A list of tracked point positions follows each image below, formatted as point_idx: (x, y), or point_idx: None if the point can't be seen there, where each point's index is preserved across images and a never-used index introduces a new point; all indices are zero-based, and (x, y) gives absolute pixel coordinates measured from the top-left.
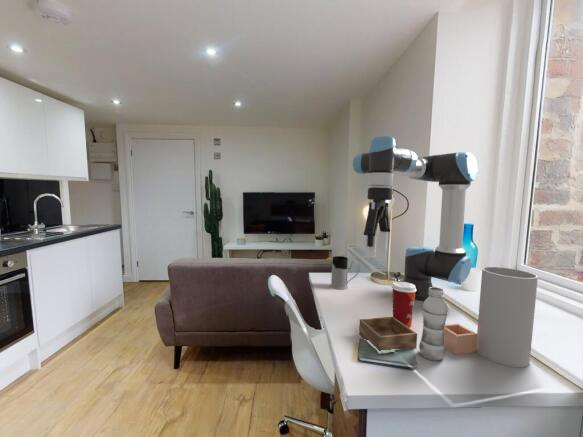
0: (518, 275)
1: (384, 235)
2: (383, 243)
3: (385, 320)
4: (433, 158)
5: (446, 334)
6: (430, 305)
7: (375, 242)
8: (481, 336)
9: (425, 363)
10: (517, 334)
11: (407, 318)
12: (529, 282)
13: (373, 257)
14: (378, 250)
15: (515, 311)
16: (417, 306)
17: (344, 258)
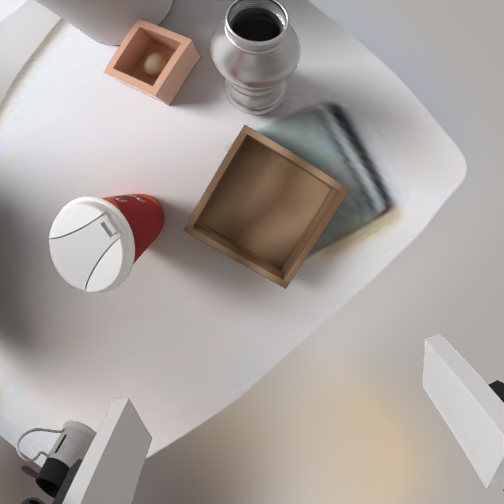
0: None
1: (98, 501)
2: (121, 453)
3: (214, 238)
4: None
5: (173, 75)
6: (296, 47)
7: (495, 398)
8: (144, 10)
9: (291, 93)
10: None
11: (144, 199)
12: None
13: (439, 340)
14: (150, 435)
15: None
16: (8, 248)
17: (39, 481)
